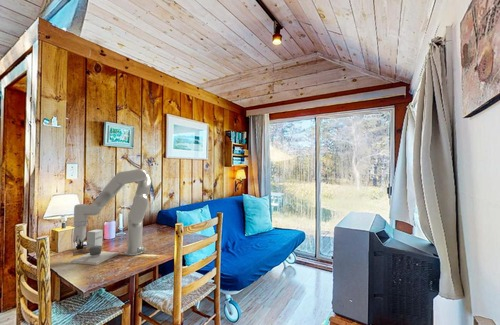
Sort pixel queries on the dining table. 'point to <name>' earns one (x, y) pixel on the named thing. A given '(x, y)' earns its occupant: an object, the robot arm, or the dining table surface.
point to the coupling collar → (88, 251)
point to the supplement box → (94, 238)
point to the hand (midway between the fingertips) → (79, 251)
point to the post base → (94, 258)
